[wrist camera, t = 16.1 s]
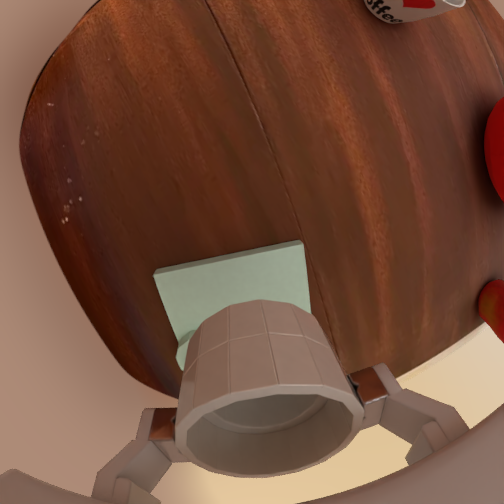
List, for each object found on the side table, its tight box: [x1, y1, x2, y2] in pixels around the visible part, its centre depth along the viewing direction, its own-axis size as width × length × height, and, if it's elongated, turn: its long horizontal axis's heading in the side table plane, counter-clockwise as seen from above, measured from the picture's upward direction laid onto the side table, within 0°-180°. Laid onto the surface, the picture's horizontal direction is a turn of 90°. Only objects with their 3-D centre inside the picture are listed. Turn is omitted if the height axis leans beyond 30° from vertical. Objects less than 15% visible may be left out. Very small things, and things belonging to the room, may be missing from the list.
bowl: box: [175, 299, 364, 478], centre depth 10 cm, size 6×6×5 cm
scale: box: [153, 240, 311, 371], centre depth 26 cm, size 14×12×3 cm
